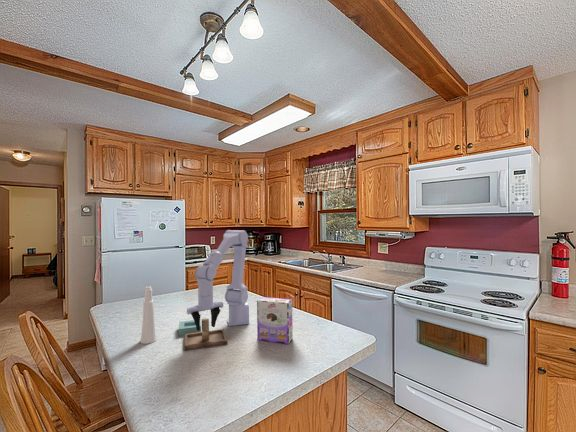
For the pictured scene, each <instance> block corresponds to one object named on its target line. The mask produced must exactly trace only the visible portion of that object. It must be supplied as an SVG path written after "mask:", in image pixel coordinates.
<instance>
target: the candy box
mask: <svg viewBox="0 0 576 432" xmlns="http://www.w3.org/2000/svg"><path fill="white" fill-rule="evenodd" d="M256 315H257V317H256V320H257V321H256V322H257V323H256V324H257V326H256V327H257V331H256V332H257V334H256V335H257V336H256V337H257V339H256V340H258V341H265V342H270V343H276V344H277V343H279V344H285V345H289V344H290V343H291V342H292V340H293V331H294V330H293V299H292V298H291V299H288V298H277V297H267V296H262V297H261V298H259V299H258V300H256Z"/></svg>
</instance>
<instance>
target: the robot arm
mask: <svg viewBox="0 0 576 432" xmlns="http://www.w3.org/2000/svg"><path fill="white" fill-rule="evenodd" d="M222 238H223V239H222V241H221V243H220V244H219V246H218V247H217V249H216V251H212V252H210V254H209V255H208V257H207V258H206V259H205V260H204V262H203V263H202V264H200V265H199V266H197V267H196V269H195V272H194V276H195V278H196V283H197V285H198V286H197V291H198V293H197V294H198V295H197V299H198V300H197V301H198V302H197V303H198V304H197V305H195V306H191V307H187V308H186V313H187V315H191V316H192V320H194V321H195V325H196V330H198V331H200V322H201V314H200V312H204V311H210V315H211V316H210V317H211V318H210V326H211V327H212V328H215V326H216V322H217V320H218V317H219V315H220V312H221V309H222V308H224V302H223V301H218V302H214V278H216V275H217V271H218V267H220V265H221V263H222V262H223V260H224V255H225V254H226V252H228V250H229V249H230V248H232V249H234V254H233V255H234V256H233V266H232V273H231V274H232V275H231V276H232V277H231V283H230V284H229V285H227V286H226V291H225V294H224V301H226V303H227V305H228V319H226V321H227V324H228V327H233V326H241V325H249V324H250V305H249V303H248V302H247V301H248V298H249V294H248V287H247V286H246V285H245V283H244V274H245V273H244V272H245V262H246V261H245V260H246V252H247V251H246V250H247V248H248V242H249V241H248V240H249V235H248V233H247V231H246V230H245V229H244V230H243V229H242V230H240V229H239V230H238V229H237V230H236V229H235V230H234V229H233V230H231V229H227V230H226V231H225V232H224V233H223V237H222Z"/></svg>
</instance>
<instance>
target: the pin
mask: <svg viewBox="0 0 576 432" xmlns="http://www.w3.org/2000/svg"><path fill="white" fill-rule="evenodd" d="M209 331H210V320H209V318H208V317H207V318H202V319H201V332H202V340H203V341H207V340H209Z"/></svg>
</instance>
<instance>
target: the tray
mask: <svg viewBox="0 0 576 432" xmlns="http://www.w3.org/2000/svg"><path fill="white" fill-rule="evenodd" d="M228 340H229V339H228V338H227V334H226V331H225V328H220V329H213V330H209V340H207V341H203V340H202V331H201V332H196V333H189V334H185V336H184V351H191V350H197V349H199V350H200V349H205V348H211V347H216V346H217V347H218V346H224V345H229V344H228Z"/></svg>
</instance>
